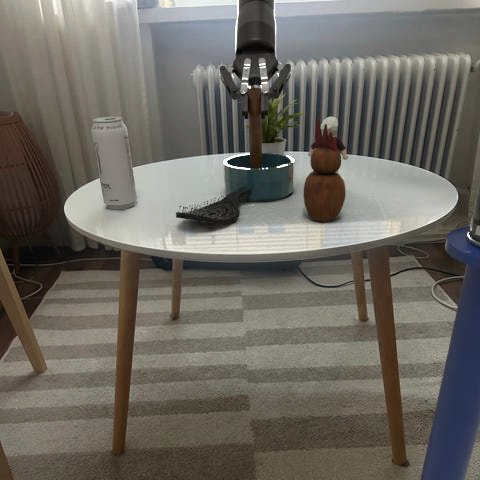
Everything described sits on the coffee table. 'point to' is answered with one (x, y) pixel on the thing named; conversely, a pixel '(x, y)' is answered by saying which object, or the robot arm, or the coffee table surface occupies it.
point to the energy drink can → (114, 162)
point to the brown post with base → (255, 128)
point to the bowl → (260, 177)
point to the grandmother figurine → (332, 127)
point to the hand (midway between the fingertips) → (254, 115)
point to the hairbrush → (217, 209)
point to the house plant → (275, 128)
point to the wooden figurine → (324, 179)
